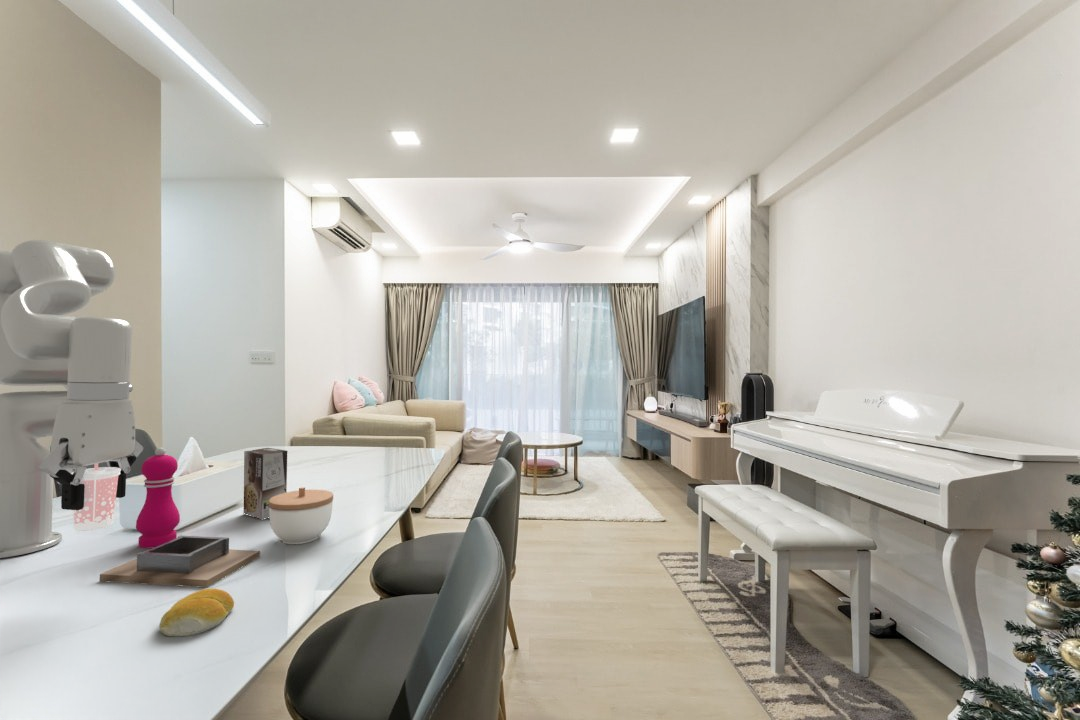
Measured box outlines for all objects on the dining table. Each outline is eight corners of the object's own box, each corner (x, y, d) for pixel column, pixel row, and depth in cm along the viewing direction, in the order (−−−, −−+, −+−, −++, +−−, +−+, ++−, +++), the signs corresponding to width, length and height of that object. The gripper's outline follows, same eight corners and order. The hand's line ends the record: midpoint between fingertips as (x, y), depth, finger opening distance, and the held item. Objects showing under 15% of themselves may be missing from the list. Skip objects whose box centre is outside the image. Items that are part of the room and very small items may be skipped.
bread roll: (240, 603, 75) (241, 578, 75) (215, 634, 66) (216, 606, 66) (180, 609, 73) (181, 583, 73) (147, 641, 64) (147, 612, 65)
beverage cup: (119, 517, 82) (123, 436, 82) (117, 527, 77) (121, 441, 77) (69, 524, 78) (73, 439, 78) (64, 535, 73) (68, 444, 73)
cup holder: (99, 581, 82) (100, 556, 82) (165, 552, 95) (166, 531, 95) (207, 587, 80) (207, 562, 80) (259, 556, 93) (260, 535, 93)
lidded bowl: (253, 546, 99) (254, 492, 99) (297, 526, 111) (298, 479, 111) (304, 552, 96) (306, 497, 96) (344, 531, 108) (345, 483, 108)
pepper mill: (154, 550, 96) (157, 451, 96) (125, 547, 97) (128, 449, 97) (188, 538, 103) (190, 445, 103) (160, 535, 104) (163, 444, 104)
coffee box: (287, 514, 120) (288, 450, 121) (261, 520, 115) (262, 454, 115) (267, 508, 125) (269, 446, 125) (241, 514, 120) (243, 450, 120)
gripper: (128, 389, 87) (124, 487, 87) (15, 395, 69) (10, 518, 69) (166, 391, 86) (162, 490, 86) (62, 397, 69) (57, 521, 69)
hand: (94, 501), depth 78 cm, fingers closed on beverage cup, 6 cm apart
